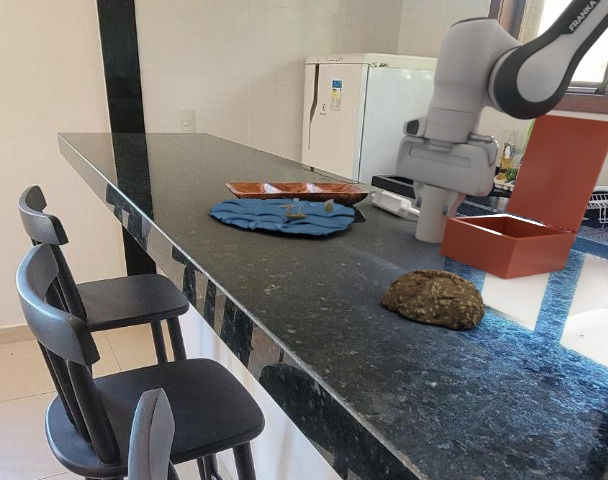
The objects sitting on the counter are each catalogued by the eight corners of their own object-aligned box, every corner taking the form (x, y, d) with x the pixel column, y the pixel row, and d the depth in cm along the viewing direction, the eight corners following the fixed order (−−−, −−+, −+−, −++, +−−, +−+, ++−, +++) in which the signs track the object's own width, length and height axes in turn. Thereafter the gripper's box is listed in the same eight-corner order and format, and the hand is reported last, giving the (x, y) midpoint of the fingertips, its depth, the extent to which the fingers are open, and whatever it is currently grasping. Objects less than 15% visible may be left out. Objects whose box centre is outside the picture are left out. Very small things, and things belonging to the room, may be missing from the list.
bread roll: (478, 301, 72) (488, 265, 70) (485, 336, 61) (497, 295, 59) (385, 285, 74) (391, 250, 72) (376, 316, 63) (383, 277, 61)
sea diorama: (238, 249, 87) (238, 217, 85) (194, 206, 111) (193, 180, 108) (390, 239, 98) (394, 211, 96) (321, 202, 122) (323, 178, 119)
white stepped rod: (435, 229, 117) (442, 212, 116) (407, 220, 113) (414, 202, 112) (388, 208, 133) (394, 193, 132) (362, 199, 129) (367, 184, 128)
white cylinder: (429, 236, 103) (440, 183, 98) (452, 244, 99) (464, 189, 94) (408, 238, 100) (417, 183, 95) (430, 247, 95) (441, 189, 91)
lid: (616, 122, 78) (619, 122, 79) (536, 113, 88) (539, 114, 89) (575, 231, 85) (578, 231, 86) (505, 211, 95) (508, 211, 95)
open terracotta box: (504, 284, 80) (516, 239, 77) (438, 258, 90) (447, 217, 87) (562, 274, 89) (575, 234, 85) (496, 251, 98) (506, 214, 95)
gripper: (513, 138, 84) (490, 225, 91) (421, 123, 99) (408, 199, 105) (488, 136, 81) (466, 227, 87) (397, 122, 95) (384, 200, 102)
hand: (433, 211), depth 96 cm, fingers closed on white cylinder, 6 cm apart
